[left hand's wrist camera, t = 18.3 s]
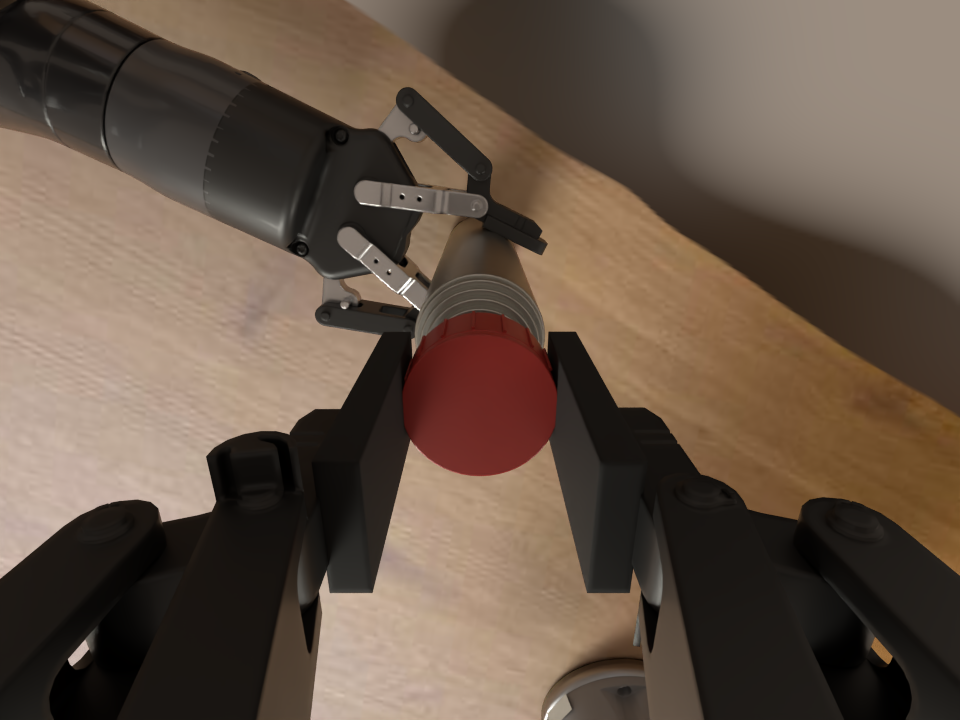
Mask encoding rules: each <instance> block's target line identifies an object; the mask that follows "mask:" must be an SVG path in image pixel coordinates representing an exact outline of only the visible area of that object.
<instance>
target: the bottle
mask: <svg viewBox="0 0 960 720" xmlns="http://www.w3.org/2000/svg"><path fill="white" fill-rule="evenodd" d="M472 311H475V313H477V312H481V313H492V314H497V315H501V314H504V315H505V317H507V318H509V319H511V320H514V321H516V322H517V323H519V324H520V325H522V326H523V327H525V328H527V327H528V328H529V329H530V332H531V334H532V335H533V336H534V337H535V338H536V339H537V341H538V342H539V344H540V345H541V347H542V349H543V348H544V342H545V329H544V323H543V319H542V316H541V313H540V310H539V308H538V305H537V303H536V300H535V298H534V295H533V293H532V290H531V288H530V285H529V283H528V280H527V278H526V275H525V273H524V270H523V268H522V265H521V263H520V260H519V258H518V255H517V253H516V250H515V248H514V245H513V242H512V241H510V240H508V239H506V238H504V237H502V236H500V235H499V234H497V233H494V232H492V231H490V230H488V229H486V228H484V227H482V222H481V221H479V220H477V219H475V218H472V217H470V218H467V219H465V220H463V221H462V222H460V223H459V224H458V225H457V226H456V227H455V228H454V229H453V231H452V232H451V234H450V236H449V239H448V241H447V244H446V246H445V249H444V251H443V254H442V256H441V259H440V261H439V264H438V266H437V269H436V272H435V274H434V277H433V279H432V282H431V284H430V287H429V289H428V292H427V294H426V297H425V299H424V302H423V304H422V307H421V309H420V312H419V314H418V317H417V321H416V325H415V344H416V349H417V348H418V346H419V344H420V342H421V339H422V337H423V335H425V336H426V335H427V334H428V333H429V332H430V331H431V330H433V329H434V328H435V327H436V326H438V325H439V324H441V323H442V322H444V319H446V318H447V319H450V318H453V317H456V316H459V315H463V314H467V313H472Z"/></svg>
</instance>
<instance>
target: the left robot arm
mask: <svg viewBox="0 0 960 720" xmlns="http://www.w3.org/2000/svg"><path fill="white" fill-rule="evenodd" d="M547 355H548V358H549V361H550V364H551V366H552V369H553V370H552V371H551V373H552V376H553V379H554V382H555V385H556V388H557V405H556V421H555V428H554V430H553V433H552V435H551V437H550V438H549V440H550V445H551V449H552V453H553V457H554V461H555V465H556V469H557V473H558V477H559V481H560V485H561V489H562V493H563V497H564V501H565V505H566V509H567V513H568V517H569V521H570V525H571V530H572V534H573V538H574V542H575V546H576V550H577V554H578V558H579V562H580V566H581V570H582V574H583V578H584V582H585V586H586V590H587V593H630V587H631V580H632V573H633V569H634V572H635V574H636V577H637V580H638V582H639V585H640V588H641V596H640V602H639V609H638V615H637V622H636V629H635V635H634V642H633V646H639V647H640V642H641V644H642V653H643V661H641V660H634V659H613V660H605V661H600V662H596V663H592V664H589V665H586V666H583V667H581V668H579V669H577V670H575V671H573V672H571V673H569V674H568V675H566V676H565V677H563V678H562V679H561V680H560V681H558V682H557V683H556V684H555V685H554V686H553V687H552V689H551V690H550V691H549V693H548V694H547V696H546V698H545V700H544V703H543V706H542V714H541V716H542V720H960V576H959V575H958V574H957V573H956V572H954V571H953V570H952V569H951V568H950V567H948V566H947V565H946V564H945V563H944V562H942V561H941V560H940V559H939V558H937V557H936V556H935V555H934V554H933V553H931V552H930V551H929V550H928V549H927V548H925V547H924V546H923V545H922V544H920V543H919V542H918V541H917V540H916V539H914V538H913V537H912V536H911V535H910V534H908V533H907V532H906V531H905V530H903V529H902V528H901V527H900V526H899V525H897V524H896V523H895V522H893V521H892V520H890V519H889V518H887V517H885V516H884V515H882V514H881V513H879V512H877V511H875V510H872V509H870V508H868V507H866V506H864V505H862V504H860V503H857V502H853V501H852V502H850V501H849V500H845V499H837V498H825V497H822V498H816V499H811V500H809V501H807V502H806V503H805V504H804V505H802V508H801V511H800V515H799V519H798V520H794V519H789V518H784V517H779V516H774V515H769V514H764V513H760V512H756V511H752V510H748V509H747V507H746V505H745V503H744V501H743V499H742V498H741V497H740V496H739V494H738V493H737V492H736V491H735V490H734V489H732V488H731V487H729V486H728V485H726V484H725V483H723V482H721V481H719V480H716V479H714V478H711V477H709V476H705V475H701V474H700V473H699V472H698V470H697V469H696V467H695V466H694V465H693V463H692V462H691V460H690V459H689V457H688V456H687V455H686V453H685V452H684V450H683V449H682V447H681V446H680V445H679V444H677V440H676V439H675V437H674V436H673V435H672V433H670V430H669V429H668V427H667V426H666V425H665V423H664V422H663V420H662V419H661V418H660V417H658V416H657V415H655V414H654V413H652V412H651V411H649V410H647V409H646V408H618V407H617V405H616V403H615V401H614V400H613V398H612V396H611V394H610V392H609V391H608V389H607V387H606V385H605V383H604V382H603V380H602V378H601V376H600V374H599V373H598V371H597V369H596V367H595V365H594V364H593V362H592V360H591V358H590V356H589V355H588V353H587V351H586V349H585V347H584V346H583V344H582V342H581V340H580V338H579V337H578V335H577V333H576V332H549V334H548V353H547ZM411 359H412V343H411V332H383V334H382V336H381V338H380V339H379V341H378V343H377V345H376V347H375V348H374V350H373V352H372V354H371V356H370V357H369V359H368V361H367V363H366V365H365V366H364V368H363V370H362V372H361V374H360V375H359V377H358V379H357V381H356V382H355V384H354V386H353V388H352V390H351V391H350V393H349V395H348V397H347V399H346V400H345V402H344V404H343V406H342V408H341V409H315V410H313V411H312V412H310V413H309V414H307V415H306V416H304V417H303V418H301V419H299V420H298V422H297V423H296V425H295V426H294V427H293V429H292V430H291V432H290V435H289V434H285V433H281V432H277V431H260V432H254V433H248V434H243V435H240V436H237V437H235V438H232V439H229V440H227V441H225V442H223V443H222V444H220V445H218V446H216V447H215V448H214V449H213V450H212V451H211V452H210V453H209V454H208V455H207V456H206V458H207V462H208V467H209V471H210V475H211V480H212V484H213V488H214V493H215V497H216V504H215V506H214V508H213V510H212V512H209V513H205V514H201V515H197V516H192V517H187V518H182V519H177V520H172V521H167V522H162V521H161V517H160V513H159V510H158V508H157V507H156V506H155V505H154V504H152V503H151V502H147V501H142V500H128V501H118V502H112V503H111V504H105V505H102V506H99V507H97V508H95V509H93V510H91V511H89V512H86V513H84V514H82V515H80V516H78V517H77V518H75V519H74V520H72V521H71V522H69V523H68V524H66V525H65V526H64V527H62V528H61V529H60V530H59V531H57V532H56V533H55V534H54V535H53V536H51V537H50V538H49V539H48V540H47V541H45V542H44V543H43V544H42V545H41V546H39V547H38V548H37V549H36V550H35V551H33V552H32V553H31V554H30V555H29V556H27V557H26V558H25V559H24V560H23V561H21V562H20V563H19V564H18V565H17V566H15V567H14V568H13V569H12V570H11V571H9V572H8V573H7V574H6V575H5V576H3V577H2V578H1V579H0V720H310V717H311V708H312V699H313V690H314V681H315V672H316V663H317V654H318V645H319V636H320V627H321V618H322V609H321V602H320V596H319V589H320V586H321V584H322V581H323V578H324V576H325V573H326V570H327V576H328V583H329V590H330V593H372V592H373V588H374V584H375V580H376V576H377V572H378V568H379V564H380V560H381V556H382V552H383V548H384V544H385V540H386V536H387V532H388V528H389V524H390V520H391V516H392V512H393V507H394V503H395V499H396V495H397V491H398V487H399V483H400V479H401V475H402V471H403V467H404V463H405V459H406V455H407V451H408V447H409V443H410V437H409V436H408V434H407V431H406V429H405V426H404V413H403V396H402V390H403V387H404V383H405V382H404V378H405V375H406V372H407V369H408V366H409V363H410V360H411ZM875 637H876V638H877V639H878V640H879V641H880V642H881V644H882V645H883V646H884V647H885V648H886V649H887V650H888V652H889V653H890V654H891V655H892V656H893V657H892V660H891V662H890V663H889V664H887V663H886V662H884V661H883V660H882V659H881V658H880V657H879V656H878V655H877V653H876V652H875V651H874V650H873V649H872V648H871V646H872V643H873V641H874V638H875ZM84 640H86V642H87V645H88V647H89V650H88V651H87V652H86V654H85V655H84V656H83V657H82V658H81V659H80V660H79V661H78V662H77V663H76V664H74V665H73V666H71V665H70V664H69V661H68V658H69V657H70V656H71V655H72V654H73V653H74V651H75V650H76V649H77V648H78V647H79V646H80V645H81V643H82V642H83V641H84Z"/></svg>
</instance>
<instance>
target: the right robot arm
mask: <svg viewBox="0 0 960 720" xmlns="http://www.w3.org/2000/svg"><path fill="white" fill-rule="evenodd" d="M0 127H1V128H5V129H9V130H14V131H18V132H23V133H27V134H31V135H35V136H40V137H43V138H47V139H50V140H52V141H55V142H57V143H60V144H62V145H64V146H67V147H69V148H71V149H73V150H75V151H78V152H80V153H82V154H84V155H86V156H89V157H91V158H93V159H95V160H98V161H100V162H102V163H104V164H106V165H109V166H111V167H113V168H115V169H117V170H120V171H122V172H125V173H126V174H128V175H130V176H132V177H134V178H136V179H138V180H139V181H141V182H143V183H144V184H146V185H148V186H149V187H151V188H152V189H154V190H156V191H157V192H159V193H161V194H162V195H164V196H166V197H168V198H170V199H172V200H174V201H176V202H179V203H181V204H183V205H185V206H187V207H190V208H192V209H194V210H196V211H198V212H201V213H203V214H205V215H207V216H210V217H212V218H214V219H216V220H218V221H221V222H223V223H225V224H227V225H229V226H232V227H234V228H236V229H239V230H241V231H243V232H245V233H247V234H250V235H252V236H254V237H256V238H258V239H261V240H263V241H265V242H267V243H269V244H272V245H274V246H276V247H278V248H280V249H283V250H285V251H287V252H289V253H292V254H294V255H297V256H299V257H301V258H303V259H305V260H306V261H308V262H309V263H310V264H311V265H312V266H313V267H314V268H315V270H316V271H317V272H318V273H319V274H320V275H321V276H323V277H324V281H323V296H322V305H321V306H320V307H319V308H318V309H317V310H316V312H315V317H316V320H317V321H318V322H319V323H320V324H321V325H324V326H329V327H335V328H342V329H348V330H354V331H360V332H366V333H372V334H378V335H382V334H383V332H411V339H413V338H415V325H416V321H417V317H418V314H419V312H420V309H421V307H422V304H423V302H424V299H425V297H426V294H427V292H428V289H429V287H430V284H431V282H432V281H431V280H430V279H428V278H427V277H426V276H425V275H424V274H423V273H422V272H421V271H420V270H419V268H418V266H417V265H416V264H415V263H414V262H413V261H412V260H410V259H409V258H408V257H407V256H406V255H405V254H406V252H407V249H408V247H409V244H410V236H411V231H412V229H413V228H414V227H415V226H416V224H417V223H418V222H419V221H420V219H421V216H422V214H423V212H426V213H434V214H449V215H457V216H464V217H472V218H475V219H477V220H479V221H481V222H482V227H484V228H486V229H488V230H490V231H492V232H494V233H497V234H499V235H500V236H502V237H504V238H506V239H508V240H510V241H512V242H514V243H516V244H518V245H520V246H522V247H525V248H527V249H529V250H531V251H533V252H535V253H537V254H539V255H542V254H543V252H544V250H545V248H546V246H547V242H546V241H545V240H544V239H542V238H540V235H541V233H542V230H541V229H540V227H539V226H538V225H537V224H536V223H535V222H534V221H533V220H531V219H529V218H527V217H525V216H523V215H521V214H519V213H517V212H515V211H513V210H511V209H509V208H507V207H505V206H503V205H501V204H499V203H497V202H496V201H494V200H493V199H492V197H491V195H490V180H491V173H492V164H491V162H490V160H489V159H488V158H487V157H486V156H484V155H483V154H482V153H481V152H480V151H479V150H478V149H477V148H476V147H475V146H474V145H473V144H472V143H471V142H470V141H469V140H468V139H466V138H465V137H464V136H463V135H462V134H461V133H460V132H459V131H458V130H457V129H456V128H455V127H454V126H453V125H452V124H451V123H450V122H448V121H447V120H446V119H445V118H444V117H443V116H442V115H441V114H440V113H439V112H438V111H437V110H436V109H435V108H434V107H433V106H431V105H430V104H429V103H428V102H427V101H426V100H425V99H424V98H423V97H422V96H421V95H420V94H419V93H418V92H417V91H416V90H414V89H413V88H410V87H406V88H403V89H401V90H400V91H399V92H398V94H397V97H396V105H395V107H394V108H393V109H392V111H391V112H390V114H389V115H388V116H387V118H386V119H385V120H384V122H383V123H382V125H381V126H380V127H379V129H378V130H377V129H373V128H368V129H356V128H354V127H351V126H349V125H347V124H345V123H343V122H341V121H339V120H337V119H335V118H333V117H331V116H329V115H327V114H325V113H323V112H321V111H319V110H317V109H315V108H313V107H311V106H309V105H307V104H305V103H303V102H301V101H299V100H297V99H295V98H293V97H291V96H289V95H287V94H285V93H283V92H281V91H279V90H277V89H275V88H273V87H271V86H269V85H267V84H265V83H263V82H262V81H261V80H259V79H258V78H257V77H255V76H254V75H252V74H250V73H248V72H246V71H241V70H237V69H235V68H233V67H231V66H229V65H228V64H226V63H224V62H221V61H219V60H217V59H215V58H213V57H210V56H207V55H205V54H202V53H199V52H196V51H193V50H190V49H187V48H184V47H182V46H179V45H177V44H175V43H172V42H170V41H168V40H166V39H164V38H162V37H160V36H158V35H156V34H154V33H152V32H150V31H148V30H146V29H144V28H142V27H140V26H138V25H136V24H134V23H132V22H130V21H128V20H126V19H124V18H122V17H120V16H118V15H116V14H114V13H112V12H110V11H108V10H106V9H104V8H102V7H100V6H98V5H96V4H94V3H92V2H89V1H87V0H0ZM403 137H404V138H407V139H409V140H410V141H413V142H417V143H419V142H422V141H424V140H425V139H426V138H427V137H429V138H430V139H431V140H433V141H434V142H435V143H436V144H437V145H438V146H439V147H440V148H441V149H442V150H443V151H444V152H446V153H447V154H448V155H449V156H450V157H451V158H452V159H453V160H454V161H455V162H456V163H457V164H459V165H460V166H461V167H462V168H463V169H464V170H465V171H466V172H467V173H468V183H467V190H460V189H453V188H447V187H442V186H435V185H427V184H420V183H417V182H416V180H415V178H414V176H413V174H412V173H411V171H410V169H409V167H408V165H407V164H406V162H405V160H404V158H403V156H402V155H401V153H400V151H399V149H398V147H397V146H396V144H395V141H396V140H397V139H399V138H403ZM388 271H391V273H389V272H388ZM372 273H374V274H375V275H376V276H377V277H378V278H379V279H380V280H381V281H383V282H384V283H385V284H386V285H387V286H388V287H389V288H391V289H392V290H393V291H394V292H395V293H397V294H400V295H402V296H403V297H404V298H406V299H407V300H408V301H409V302H410V303H411V304H412V305H413V306H412V307H411V308H409V307H403V306H397V305H391V304H385V303H379V302H373V301H367V300H361V296H360V294H359V292H358V291H357V290H355V289H352V288H350V287H348V286H347V285H346V284H345V282H344V279H345V278H351V277H356V276H361V275H367V274H372Z"/></svg>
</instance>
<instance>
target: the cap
mask: <svg viewBox="0 0 960 720" xmlns="http://www.w3.org/2000/svg"><path fill="white" fill-rule="evenodd" d="M552 370H553V369H552V366H551V364H550V361H549V358H548V355H547V352H546V350H545V348H544V349H542V347H541V345H540V344H539V342H538V341H537V339H536V338H535V337H534V336H533V335H532V334H531V332H530V329H529V328H528V327H527V328H525V327H523V326H522V325H520V324H519V323H517V322H516V321H514V320H511V319H509V318H507V317H505V315H504V314H501V315H497V314H492V313H481V312H477V313H475V311H472V313H467V314H463V315H459V316H456V317H453V318H450V319H447V318H446V319H444V322H442V323H441V324H439V325H438V326H436V327H435V328H434V329H433V330H431V331H430V332H429V333H428V334H427V335H426V336H425V335H423V337H422V339H421V342H420V344H419V346H418V348H417V350H416V352H415V354H414V356H413V359H411V360H410V363H409V366H408V369H407V372H406V375H405V378H404V382H405V383H404V387H403V390H402V396H403V413H404V426H405V429H406V431H407V434H408V436H409V437H410V439H411V441H412V442H413V444H414V445H415V446H416V447H417V449H418V450H419V451H420V452H421V453H422V454H423V455H424V456H425V457H427V458H428V459H429V460H431V461H432V462H433V463H435V464H437V465H438V466H440V467H442V468H444V469H447V470H449V471H452V472H455V473H459V474H463V475H470V476H490V475H496V474H501V473H504V472H508V471H510V470H513V469H515V468H517V467H519V466H521V465H523V464H525V463H526V462H528V461H529V460H530V459H532V458H533V457H534V456H535V455H536V454H537V453H538V452H539V451H540V450H541V449H542V448H543V447H544V446H545V444H546V443H547V442H548V440H549V438H550V437H551V435H552V433H553V430H554V428H555V421H556V405H557V388H556V385H555V382H554V379H553V376H552V373H551V371H552Z"/></svg>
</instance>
